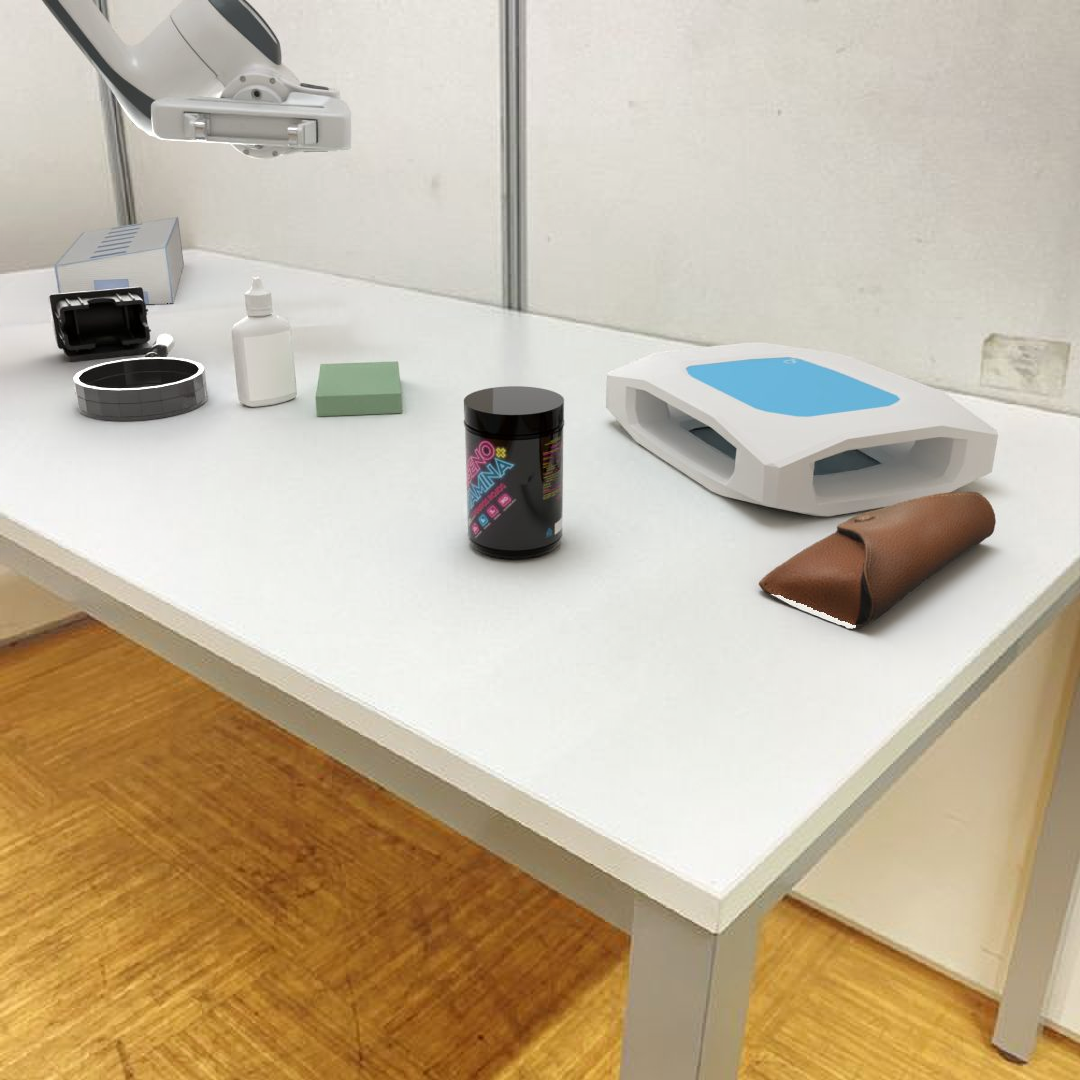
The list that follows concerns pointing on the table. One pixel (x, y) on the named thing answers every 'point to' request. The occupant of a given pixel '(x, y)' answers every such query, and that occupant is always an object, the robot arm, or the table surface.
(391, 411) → the block
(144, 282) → the warehouse
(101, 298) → the end cap
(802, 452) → the white step platform
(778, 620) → the table surface
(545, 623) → the table surface
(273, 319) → the eye dropper bottle
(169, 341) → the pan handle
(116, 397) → the pan
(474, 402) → the supplement container
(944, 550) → the sunglasses case
